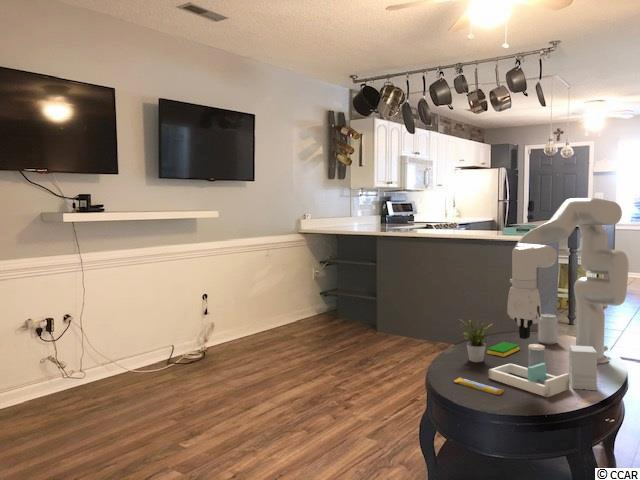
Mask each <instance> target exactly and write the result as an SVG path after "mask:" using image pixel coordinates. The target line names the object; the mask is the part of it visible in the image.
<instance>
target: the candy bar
mask: <svg viewBox="0 0 640 480" xmlns="http://www.w3.org/2000/svg"><path fill="white" fill-rule="evenodd" d="M453 382H455V383H457V384H459V385H461V386H465V387H468V388H473V389H475V390H478V391H483V392H485V393H490V394H492V395H497V396H500V395H501V394H502V393H504V392H505V391H504V388H497V387H494V386H491V385H486V384H484V383H481V382H480V383H479V382H477V381H475V380H469V379H467V378H462V377H461V376H460V377H457V378H456V379H453Z"/></svg>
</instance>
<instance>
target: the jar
mask: <svg viewBox="0 0 640 480" xmlns="http://www.w3.org/2000/svg"><path fill="white" fill-rule="evenodd" d="M545 350H546V346H545V345H542V344H538V343H532V344H531V343H530V344H528V367H531V366H534V365H537V364H540V363H545Z"/></svg>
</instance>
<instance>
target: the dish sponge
mask: <svg viewBox="0 0 640 480" xmlns="http://www.w3.org/2000/svg"><path fill="white" fill-rule="evenodd" d="M519 350H520V344H518V343H517V344H516V343H510V342H506V341H502V342H500V343H498V344H496V345H492V346H490V347H487V351H486V353H487V354H489V355H491V356H492V355H493V356H498V357H504V358H505V357H506V356H509V355H511V354H513V353H516V352H518V351H519Z"/></svg>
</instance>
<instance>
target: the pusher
mask: <svg viewBox="0 0 640 480" xmlns="http://www.w3.org/2000/svg"><path fill="white" fill-rule="evenodd" d="M527 368H528V378H527V380H530V381H533V382H536V383H539V384H543V385H545V380H546V373H547V362H546V363H545V362H544V363H540V364H537V365H534V366H531V367H529V366H528V367H527Z"/></svg>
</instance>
